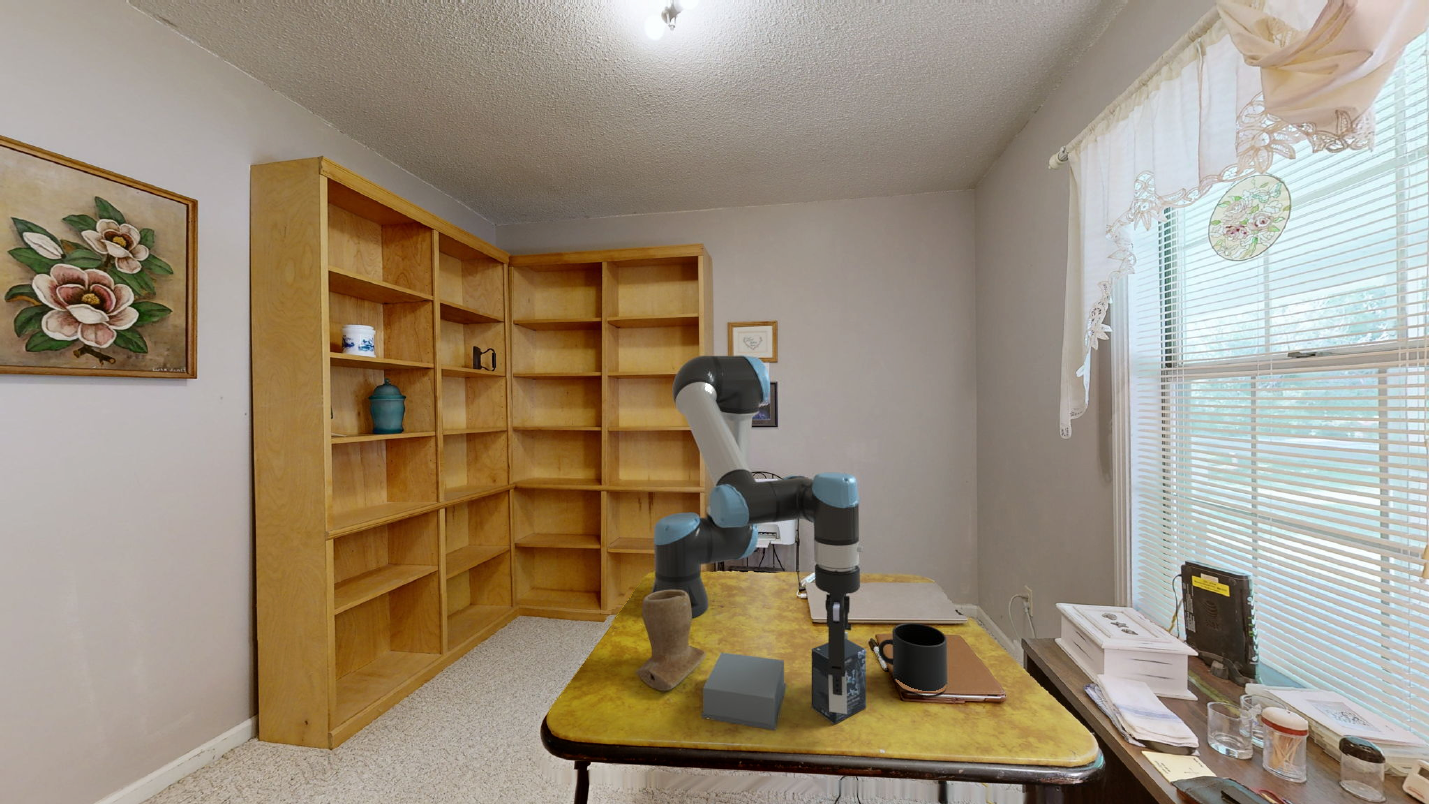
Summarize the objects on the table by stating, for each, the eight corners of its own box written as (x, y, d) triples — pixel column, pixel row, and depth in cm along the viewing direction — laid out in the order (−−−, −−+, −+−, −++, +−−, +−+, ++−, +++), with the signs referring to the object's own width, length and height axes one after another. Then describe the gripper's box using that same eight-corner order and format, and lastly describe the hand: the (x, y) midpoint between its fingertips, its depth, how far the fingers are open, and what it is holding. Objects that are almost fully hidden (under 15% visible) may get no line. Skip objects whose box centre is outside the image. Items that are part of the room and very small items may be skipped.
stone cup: (665, 646, 109) (664, 578, 109) (713, 660, 104) (711, 587, 103) (619, 682, 96) (618, 604, 96) (671, 700, 90) (669, 617, 90)
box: (835, 726, 83) (834, 662, 82) (810, 708, 87) (809, 647, 87) (867, 708, 87) (866, 648, 87) (842, 692, 92) (841, 635, 91)
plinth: (720, 677, 97) (720, 651, 97) (786, 686, 94) (785, 659, 94) (701, 717, 85) (700, 688, 85) (775, 730, 82) (775, 699, 82)
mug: (881, 661, 102) (881, 617, 102) (947, 674, 97) (946, 627, 97) (875, 686, 93) (875, 638, 93) (947, 702, 88) (946, 651, 88)
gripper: (859, 593, 74) (863, 738, 74) (859, 544, 98) (861, 654, 98) (807, 589, 76) (811, 730, 76) (819, 542, 100) (822, 649, 100)
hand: (839, 687), depth 87 cm, fingers open, 13 cm apart
